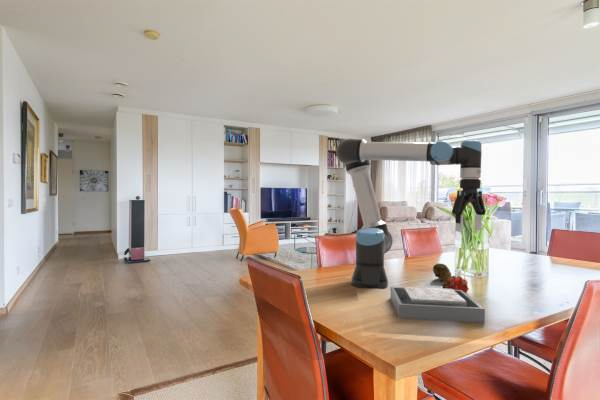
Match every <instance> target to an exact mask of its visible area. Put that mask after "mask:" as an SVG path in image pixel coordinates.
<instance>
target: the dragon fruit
mask: <svg viewBox="0 0 600 400" xmlns="http://www.w3.org/2000/svg"><path fill="white" fill-rule="evenodd" d="M441 289H453V290H462V291H463V292H465V293H466V294H468V292H469V289H470V288H469V286H468V281H467V280H466V278H465V279H464V278H463V277H462V276H461V275H458V276H456V275H453V276H452V275H451V277H446V278H444V280H442V282H441Z"/></svg>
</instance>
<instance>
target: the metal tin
mask: <svg viewBox="0 0 600 400" xmlns="http://www.w3.org/2000/svg"><path fill="white" fill-rule="evenodd" d="M403 288H404V292H403V301H404V303H405V304H419V305H439V306H458V307H466V301H465V300H464V299H463V298H462V297H461V296H460V295H459V294H457V293H456V292H455V291H454V290H453V289H442V287H441V288H439V287H438V288H437V287H416V286H415V287H413V286H403Z"/></svg>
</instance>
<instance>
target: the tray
mask: <svg viewBox="0 0 600 400" xmlns="http://www.w3.org/2000/svg"><path fill="white" fill-rule="evenodd" d="M454 291H455V292H456V293H457V294H459V295H460V296H461V297H462V298H463V299H464V300H465V301H466V307H458V306H439V305H419V304H405V303H404V301H403V292H404V286H402V287H399V286H390V296H389V297H390V300H391V301H390V302H392V305H393V307H394V310H395V313H396V315H397V317H398V319H410V320H427V321H428V320H429V321H443V322H444V321H445V322H460V323H461V322H464V323H477V324H478V323H479V324H481V323H484V324H485V318H486V317H485V316H486V314H485V311H486V309H485V307H483V306H482V305H481V304H479V302H477V301H476V300H475V299H473V298H472V297H471V296H469V295H468V293H465V292H463V291H462V290H454Z"/></svg>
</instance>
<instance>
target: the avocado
mask: <svg viewBox="0 0 600 400" xmlns="http://www.w3.org/2000/svg"><path fill="white" fill-rule="evenodd" d="M432 272H433V274H434V277H435V278H438V279H440V280H441V281H443V280H444V278H446V277H452V272H451V270H450V268H449V267H448V266H447V265H446V264H444V263H436V264H434V265H433V266H432Z"/></svg>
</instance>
